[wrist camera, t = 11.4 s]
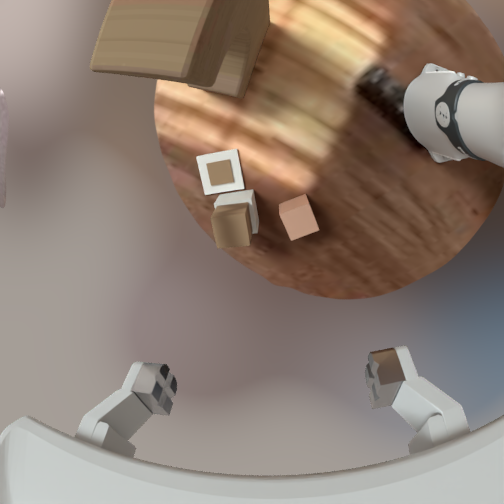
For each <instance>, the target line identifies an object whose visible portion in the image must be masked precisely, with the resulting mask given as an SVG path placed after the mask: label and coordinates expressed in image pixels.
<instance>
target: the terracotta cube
mask: <svg viewBox="0 0 504 504" xmlns="http://www.w3.org/2000/svg"><path fill="white" fill-rule="evenodd" d="M279 215H280V217H281V219H282V221H283V224H284V226H285V228H286V230H287V233H288V235H289V237H290V239H291V241H292V240H294V239H297V238H300V237H302V236H305V235H308V234H310V233H313V232H316V231H319V227H318V224H317V221H316V219H315V216H314V213H313V211H312V208H311V206H310V203H309V201H308V198H307V196H306V194H304V195H301V196H299V197H296V198H294V199H291V200H289V201H286V202H284V203H281V204H279Z"/></svg>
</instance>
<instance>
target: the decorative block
mask: <svg viewBox="0 0 504 504" xmlns="http://www.w3.org/2000/svg"><path fill="white" fill-rule="evenodd" d="M269 24H270V15H269V0H112V1H111V3H110V6H109V8H108V11H107V13H106V16H105V19H104V21H103V24H102V27H101V30H100V33H99V36H98V39H97V42H96V45H95V49H94V52H93V56H92V59H91V63H90V69H91V70H92V71H94V72H102V73H112V74H120V75H128V76H135V77H145V78H153V79H161V80H168V81H175V82H181V83H187V84H188V86H189V87H193V88H197V89H201V90H206V91H211V92H216V93H220V94H224V95H228V96H232V97H236V98H240V99H241V98H243V97H244V95H245V92H246V89H247V86H248V83H249V80H250V77H251V74H252V71H253V68H254V65H255V63H256V60H257V57H258V54H259V51H260V48H261V46H262V43H263V40H264V37H265V35H266V32H267V29H268V27H269Z"/></svg>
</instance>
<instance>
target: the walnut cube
mask: <svg viewBox="0 0 504 504" xmlns="http://www.w3.org/2000/svg"><path fill="white" fill-rule="evenodd" d="M211 223H212V227H213V232H214V236H215V241H216V245H217V248H228V247H239V246H250V243H251V238H252V232H253V230H252V223H251V217H250V211H249V204H248V202H245V203H236V204H228V205H220V206H217V207H216V209H215V211H214V212H213V214H212V216H211Z"/></svg>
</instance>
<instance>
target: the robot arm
mask: <svg viewBox="0 0 504 504" xmlns="http://www.w3.org/2000/svg"><path fill="white" fill-rule="evenodd" d="M436 70H437V71H436ZM404 115H405V120H406V123H407V125H408V128H409V130H410V131H411V133H412V135H413V136H414V137H415V139H416V140H417V141H418V142H419V143H420V144H422V145H423V146H424V147H425V148H426V149H427V150H428V151H429V153H430V155H431V157H432V158H433V160H434V161H435V162H439V163H441V162H445V161H450V160H457V161H461V159H465V158H468V157H470V158H473V159H476V160H477V159H478V160H482V161H485V160H487V161H489V162H492V163H494V164H496V165H499V166H501V167H503V168H504V82H500V83H484V82H481V81H479V80H478V79H477V78H475V77H472V76H467V79H466V78H465V74H463V73H457V74H456V73H455V72H454V71H449V70H447V69H444V68H442V67H440V66H437V65H435V64H426V65H425V67H424V69H423V71H422V74H421V75H420V76H418V77H417V78H416V79H414V80H413V81H412V82H411V83H410V85H409V86H408V88H407V90H406V93H405V96H404ZM368 361H369V363H368V364H367V365H366V370H365V377H366V383H367V387H368V388H370V389H371V391H370V394H369V398H370V402H371V407H372V409H375V408H380V407H386V406H391V405H392V407H393V408H394V409H395V410H396V411H397V412H398V413H399V414H400V415H401V416H402V417H403V418H404V419H405V420H406V421H407V423H409V425H410V426H411V427H412V428H413V429H414V430H415V431H416V432H417V434H416V435H415V436H414V438H413V439H412V440H411V441H410V443H409V444H408V446H409V452H410V455H408V456H405V457H401V458H398V459H394V460H390V461H386V462H382V463H378V464H373V465H368V466H363V467H358V468H352V469H346V470H340V471H332V472H324V473H314V474H301V475H282V476H281V475H280V476H279V475H278V476H258V475H257V476H256V475H255V476H254V475H233V474H221V473H211V472H203V471H196V470H189V469H183V468H177V467H172V466H166V465H161V464H157V463H153V462H148V461H144V460H140V459H136V458H133V457H134V454H135V450H136V448H135V446H134V445H133V444H131V443H130V442H129V441H128V440H129V439H130V438H131V437H132V435H133V434H134V433H135V432H136V431H137V430H138V429H139V428H140V427H141V426H142V425H143V424H144V423H145V422H146V421H147V420H148V419H149V418H150V417H151V416H152V415H153V414H160V415H169V414H170V411H171V408H172V405H173V402H172V400H171V398H172V397H174V396H175V394H176V391H177V382H176V378H175V377H174V375H173V374H171V373H169V370H170V369H169V367H168V366H167V364H155V363H145V362H134V363H133V364H132V366H131V369H130V371H129V373H128V375H127V377H126V379H125V382H124V384H123V386H122V388H121V390H117V391H116V392H114V393H113V394H112V395H111V396H110V397H108V398H107V399H105V400H104V401H103V402H102V403H100V404H99V405H97V406H96V407H95V408H94V409H92V410H91V411H90V412H88V413H87V414H86V415H84V417H83V419H82V422H81V424H80V426H79V428H78V431H77V433H76V435H75V437H72V436H70V435H68V434H65V433H63V432H61V431H59V430H57V429H54V428H52V427H50V426H48V425H46V424H44V423H42V422H40V421H38V420H37V419H35V418H33V417H31V416H24V417H21V418H20V419H18V420H17V421H15V422H13V423H12V424H10V425H9V426H7V427H6V428H5V429H4V431H3V432H2V434H1V435H0V504H504V415H503V416H501V417H499V418H497V419H495V420H494V421H492V422H490V423H488V424H486V425H484V426H482V427H480V428H478V429H476V430H474V431H472V432H470V429H469V426H468V423H467V420H466V417H465V414H464V411H463V409H462V406H461V405H460V404H459V403H457V402H456V401H454V400H453V399H452V398H451V397H449V396H448V395H446V394H445V393H444V392H443V391H441V390H440V389H438V388H437V387H436V386H434V385H433V384H432V383H430V382H429V381H428V380H426V379H425V378H423V377H419V376H418V374H417V371H416V368H415V366H414V363H413V360H412V358H411V355H410V353H409V350H408V348H407V347H406V346H405V345H404V346H400V347H395V348H389V349H384V350H379V351H374V352H370V353H369V355H368Z"/></svg>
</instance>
